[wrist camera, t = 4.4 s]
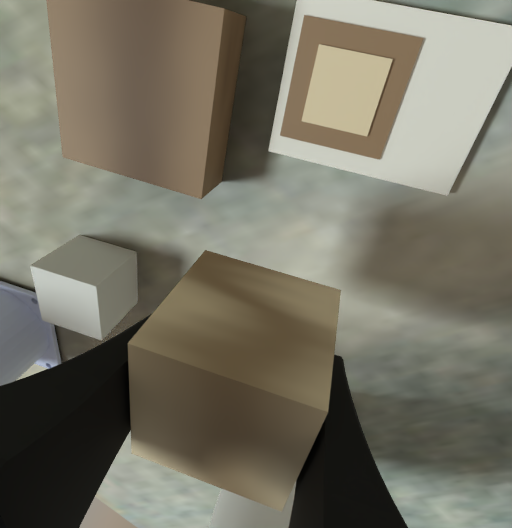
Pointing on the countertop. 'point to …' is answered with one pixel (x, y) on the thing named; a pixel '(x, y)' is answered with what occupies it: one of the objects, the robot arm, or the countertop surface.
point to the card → (388, 89)
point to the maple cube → (234, 377)
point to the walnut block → (147, 87)
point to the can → (248, 512)
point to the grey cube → (86, 286)
